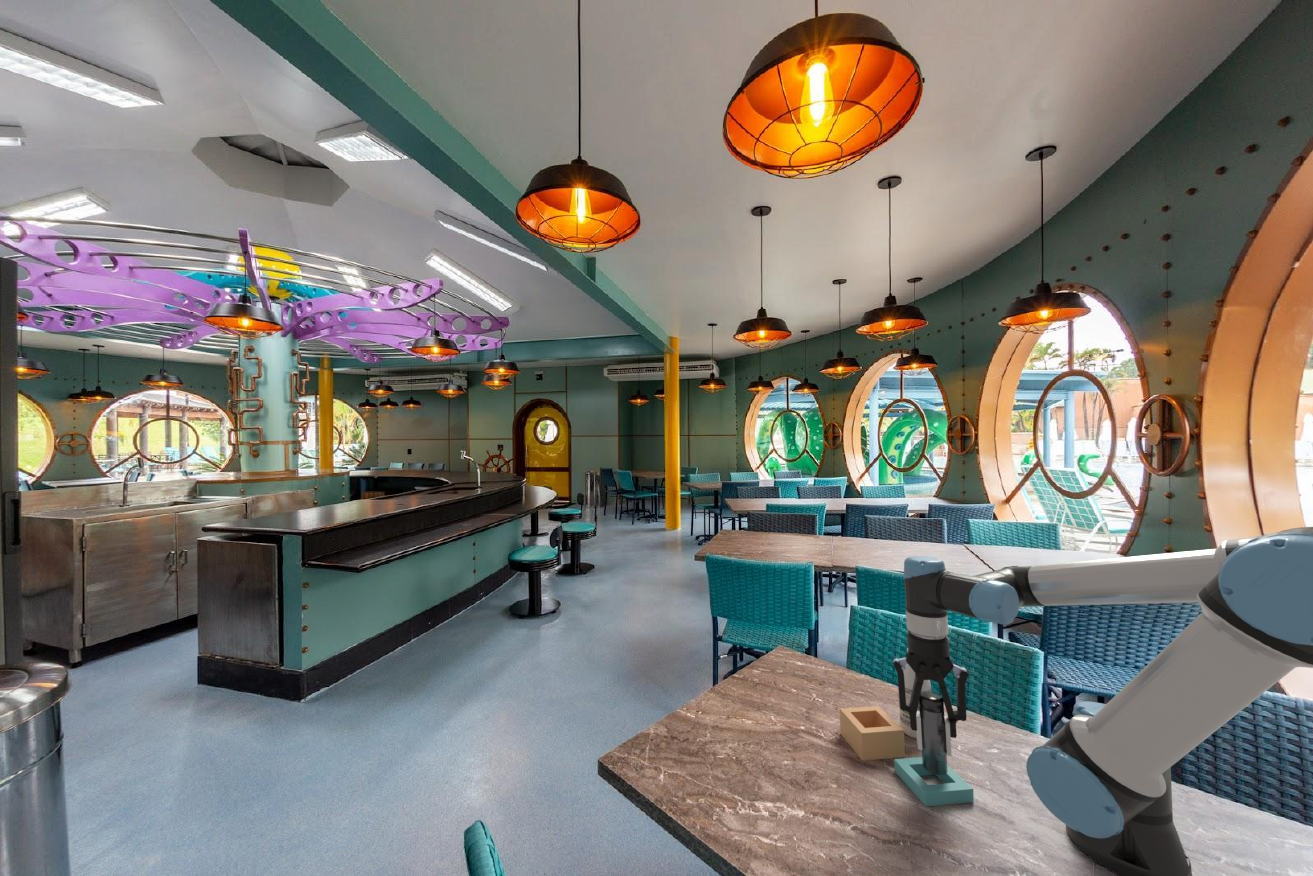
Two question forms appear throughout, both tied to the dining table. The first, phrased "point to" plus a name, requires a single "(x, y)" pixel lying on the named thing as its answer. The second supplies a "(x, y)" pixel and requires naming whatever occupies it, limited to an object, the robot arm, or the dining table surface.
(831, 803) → the dining table surface
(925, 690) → the bath foam
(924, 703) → the pin
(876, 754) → the socket
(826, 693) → the dining table surface
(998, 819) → the dining table surface
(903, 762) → the mount
